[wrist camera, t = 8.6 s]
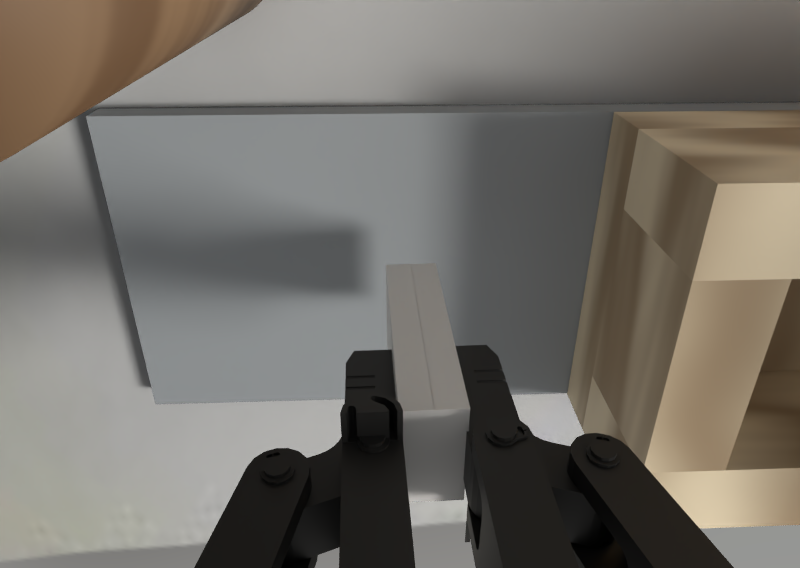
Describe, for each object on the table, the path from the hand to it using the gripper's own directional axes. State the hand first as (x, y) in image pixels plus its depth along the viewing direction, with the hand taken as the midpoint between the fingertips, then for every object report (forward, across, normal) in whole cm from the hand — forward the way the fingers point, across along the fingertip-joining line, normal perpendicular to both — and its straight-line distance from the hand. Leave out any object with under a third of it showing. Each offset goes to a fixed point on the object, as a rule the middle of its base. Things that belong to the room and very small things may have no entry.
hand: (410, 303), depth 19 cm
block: (+2, +12, 0) cm, 12 cm away
